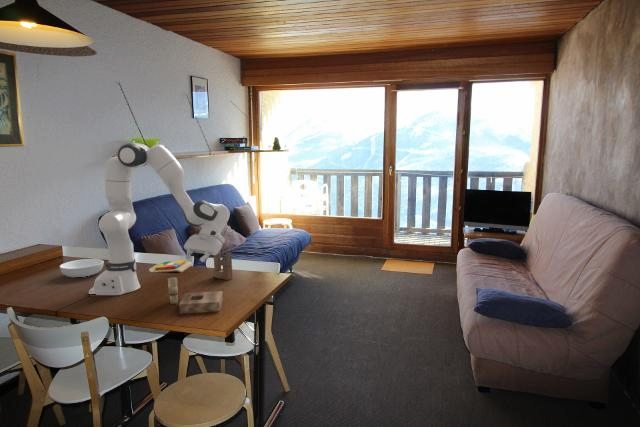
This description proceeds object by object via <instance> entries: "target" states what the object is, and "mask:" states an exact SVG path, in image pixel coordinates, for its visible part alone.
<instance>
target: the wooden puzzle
mask: <svg viewBox="0 0 640 427" xmlns="http://www.w3.org/2000/svg"><path fill="white" fill-rule="evenodd" d="M192 265H193V262H192V261H186V260H176V261H175V260H173V261H165V262H164V261H161V262H158V263H156V265H153V266H152V267H149V269H148V272H149V273H171V272H179V273H183V272H184V271H185V270H187V269H188V268H190V267H191V266H192Z"/></svg>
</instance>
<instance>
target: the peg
mask: <svg viewBox="0 0 640 427" xmlns="http://www.w3.org/2000/svg"><path fill="white" fill-rule="evenodd" d="M167 284H168V285H167V286H168V295H169V301H170V302H169V303H170V305H176V304H178V303H179V300H178V298H179V297H178V295H179V288H178V286H179V285H178V277H176V276H175V277H169V278H167Z"/></svg>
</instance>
